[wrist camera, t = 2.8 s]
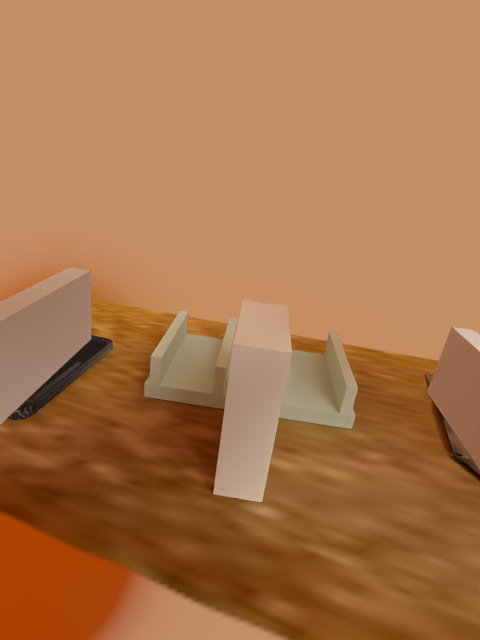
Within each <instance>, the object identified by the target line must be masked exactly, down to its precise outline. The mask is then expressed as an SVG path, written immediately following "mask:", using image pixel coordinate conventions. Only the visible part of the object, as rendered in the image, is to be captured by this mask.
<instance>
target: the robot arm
mask: <svg viewBox="0 0 480 640" xmlns="http://www.w3.org/2000/svg"><path fill="white" fill-rule="evenodd" d="M90 287H91V286H90V271H88V270H81V269H75V268H68V269H66V270H64V271H62V272H60V273H58V274H56V275H54V276H52V277H50V278H48V279H46V280H44V281H42V282H40V283H38V284H36V285H34V286H31V287H30V288H27V289H25V290H23V291H21V292H19V293H17V294H15V295H13V296H11V297H9V298H7V299H5V300H3V301H1V302H0V424H1V423H2V422H3V421H5V420H6V419H7V418H8V417H9V416H10V415H11V414H12V413H13V412H14V411H15V410H16V409H17V408H18V407H19V406H20V405H22V404H23V403H24V402H25V401H26V400H27V399H28V398H29V397H30V396H31V395H32V394H33V393H34V392H35V391H36V390H38V389H39V388H40V387H41V386H42V385H43V384H44V383H45V382H46V381H47V380H48V379H49V378H50V377H51V376H52V375H53V374H55V373H56V372H57V371H58V370H59V369H60V368H61V367H62V366H63V365H64V364H65V363H66V362H67V361H68V360H69V359H71V358H72V357H73V356H74V355H75V354H76V353H77V352H78V351H79V350H80V349H81V348H82V347H83V346H84V345H85V344H86V343H88V342H89V341H90V340H91V288H90ZM427 393H428V394H429V396H430V397H431V399H432V400H433V402H434V403H435V405H436V406H437V408H438V409H439V411H440V412H441V413H442V415H443V416H444V418H445V419H446V421H447V422H448V424H449V425H450V427H451V428H452V430H453V431H454V433H455V434H456V435H457V437H458V438H459V440H460V441H461V443H462V444H463V446H464V447H465V449H466V450H467V452H468V453H469V455H470V456H471V457H472V459H473V460H474V462H475V463H476V465H477V466H478V468H479V469H480V335H479V334H478V333H477V332H475V331H474V330H470V329H463V328H457V327H452V328H451V330H450V333H449V335H448V338H447V341H446V343H445V346H444V349H443V351H442V354H441V357H440V360H439V362H438V365H437V367H436V370H435V372H434V375H433V378H432V380H431V383H430V386H429V388H428V391H427Z"/></svg>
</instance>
